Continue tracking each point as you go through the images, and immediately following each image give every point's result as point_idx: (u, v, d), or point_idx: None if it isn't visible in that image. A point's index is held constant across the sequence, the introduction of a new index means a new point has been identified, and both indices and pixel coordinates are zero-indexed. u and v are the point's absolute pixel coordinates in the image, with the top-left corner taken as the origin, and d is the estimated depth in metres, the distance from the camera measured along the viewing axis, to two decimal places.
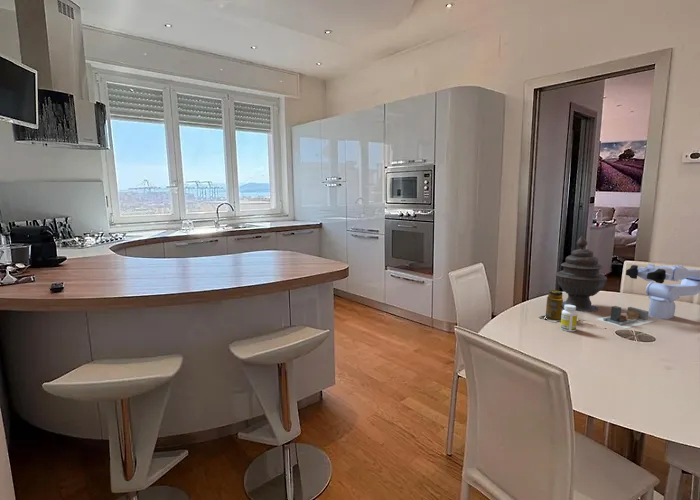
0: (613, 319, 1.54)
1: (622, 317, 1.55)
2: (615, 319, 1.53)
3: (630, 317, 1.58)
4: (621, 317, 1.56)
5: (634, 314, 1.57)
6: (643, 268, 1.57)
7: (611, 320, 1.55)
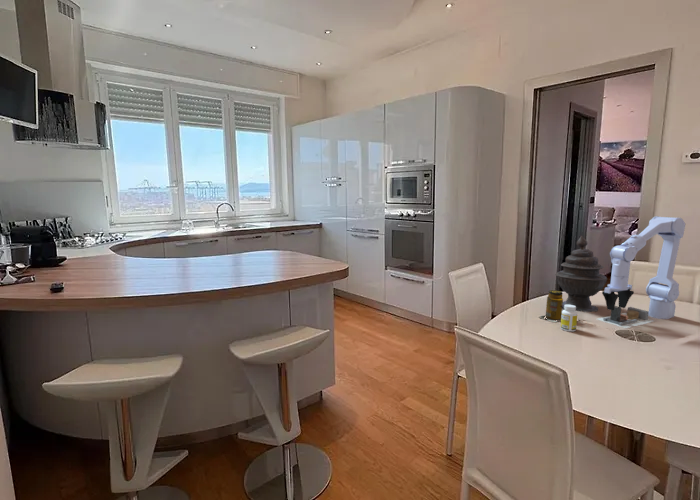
0: (613, 319, 1.54)
1: (622, 317, 1.55)
2: (615, 319, 1.53)
3: (630, 317, 1.58)
4: (621, 317, 1.56)
5: (634, 314, 1.57)
6: None
7: (611, 320, 1.55)
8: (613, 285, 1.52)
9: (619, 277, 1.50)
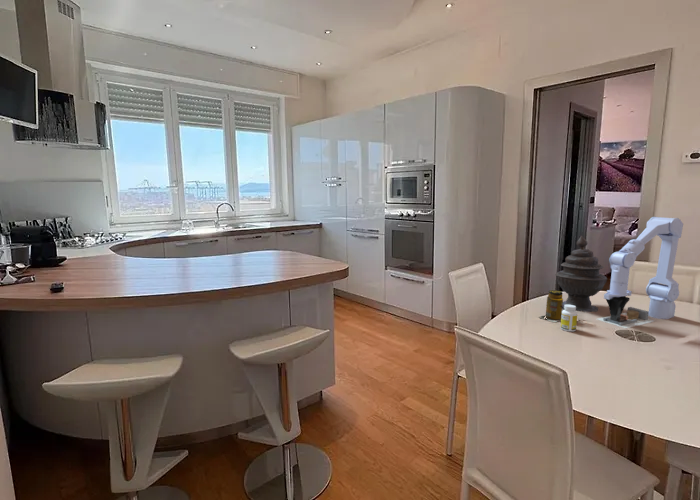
0: (613, 319, 1.54)
1: (622, 317, 1.55)
2: (615, 319, 1.53)
3: (630, 317, 1.58)
4: (621, 317, 1.56)
5: (634, 314, 1.57)
6: None
7: (611, 320, 1.55)
8: (612, 291, 1.52)
9: (618, 283, 1.50)
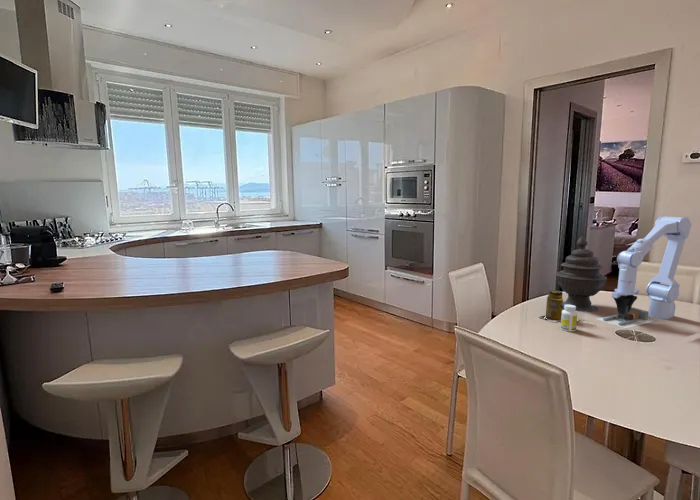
0: (621, 317, 1.56)
1: (629, 315, 1.57)
2: (623, 317, 1.55)
3: None
4: (628, 315, 1.58)
5: None
6: None
7: (619, 318, 1.57)
8: (620, 290, 1.54)
9: (626, 282, 1.52)
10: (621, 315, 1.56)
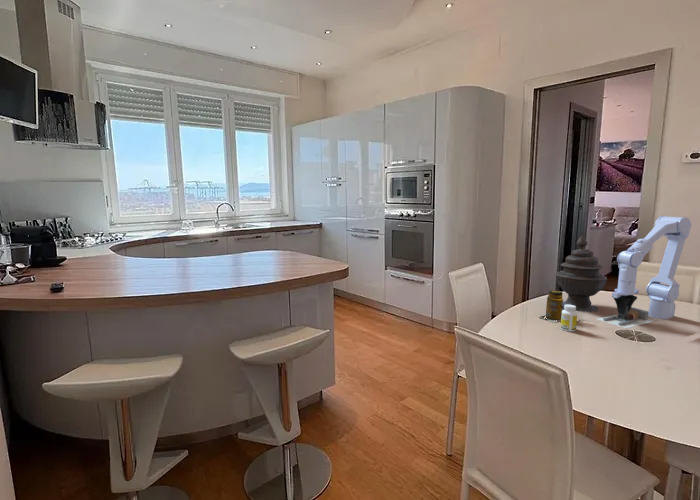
0: (621, 317, 1.56)
1: (629, 315, 1.57)
2: (623, 317, 1.55)
3: None
4: (628, 315, 1.58)
5: None
6: None
7: (619, 318, 1.57)
8: (620, 290, 1.54)
9: (626, 282, 1.52)
10: (621, 315, 1.56)
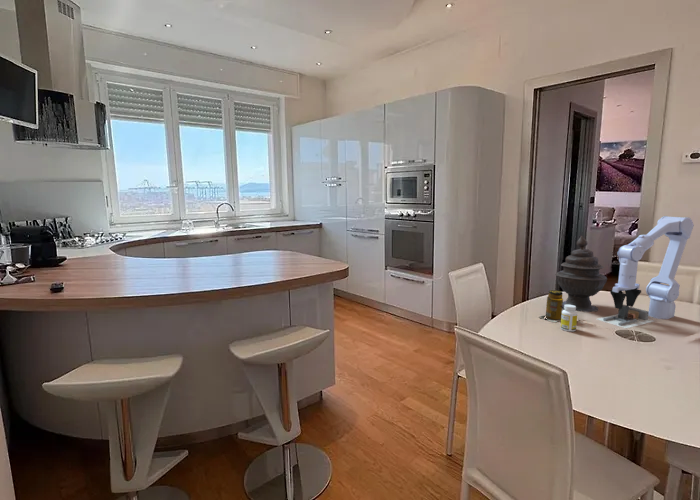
0: (621, 317, 1.56)
1: (629, 315, 1.57)
2: (623, 317, 1.55)
3: None
4: (628, 315, 1.58)
5: None
6: None
7: (619, 318, 1.57)
8: (621, 284, 1.54)
9: (627, 276, 1.52)
10: (621, 315, 1.56)
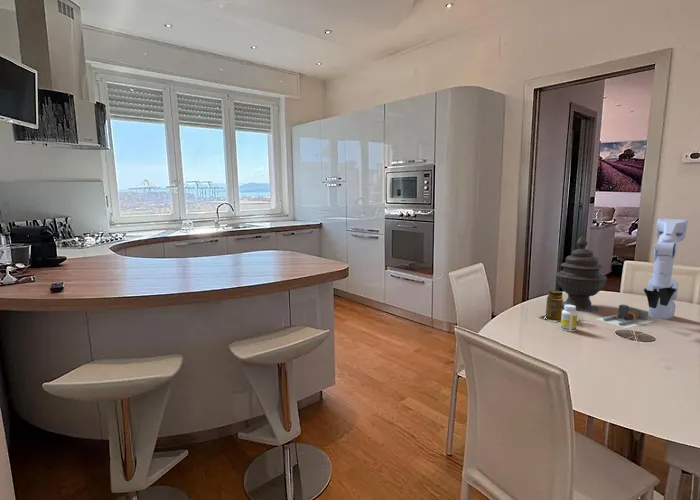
0: (621, 317, 1.56)
1: (629, 315, 1.57)
2: (623, 317, 1.55)
3: None
4: (628, 315, 1.58)
5: None
6: None
7: (619, 318, 1.57)
8: (655, 282, 1.48)
9: (662, 274, 1.46)
10: (621, 315, 1.56)
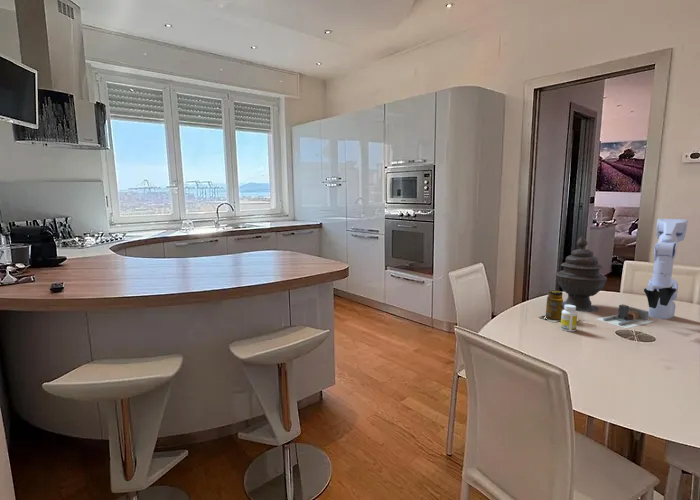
0: (621, 317, 1.56)
1: (629, 315, 1.57)
2: (623, 317, 1.55)
3: None
4: (628, 315, 1.58)
5: None
6: None
7: (619, 318, 1.57)
8: (655, 282, 1.48)
9: (662, 274, 1.46)
10: (621, 315, 1.56)
